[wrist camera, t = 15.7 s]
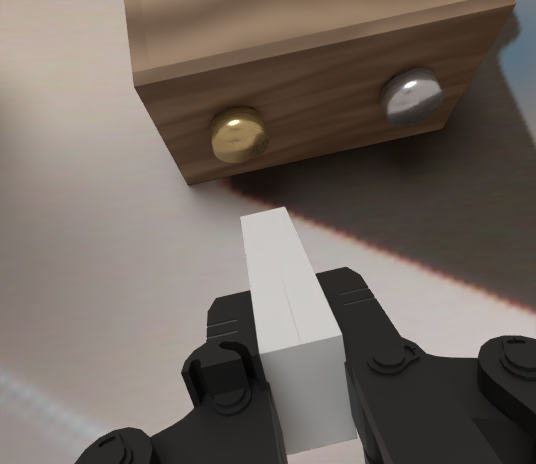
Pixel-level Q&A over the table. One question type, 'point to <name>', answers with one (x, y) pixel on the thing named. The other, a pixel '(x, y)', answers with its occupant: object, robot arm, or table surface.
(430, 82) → the steel knob
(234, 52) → the console
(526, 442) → the robot arm
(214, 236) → the table surface
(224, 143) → the brass knob
